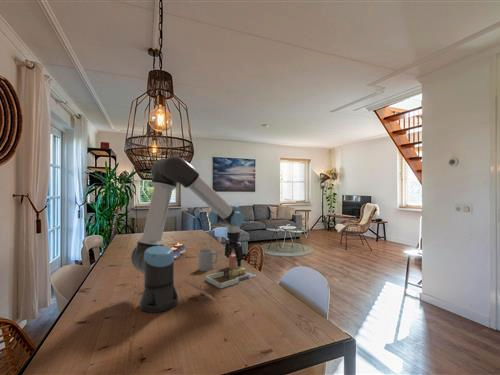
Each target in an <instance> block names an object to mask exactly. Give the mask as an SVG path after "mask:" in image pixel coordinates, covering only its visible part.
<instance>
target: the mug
mask: <svg viewBox="0 0 500 375" xmlns="http://www.w3.org/2000/svg"><path fill="white" fill-rule="evenodd" d="M214 256H215V260H214ZM218 258H219V256H218V253H217V252H216V251H213V249H209V248H208V249H207V248H206V249H200V250H199V251H198V271H199V272H207V271H212V270H213V269H214V264H216V263H217V262H218Z"/></svg>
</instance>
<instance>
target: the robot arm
mask: <svg viewBox="0 0 500 375" xmlns="http://www.w3.org/2000/svg"><path fill="white" fill-rule="evenodd" d="M151 166H152V167H151V170H150V173H151V176H152V180H151V185H152V186H153V190H152V194H151V199H150V203H149V207H148V211H147V216H146V220H145V224H144V229H143V234H142V237H141V238H139V239H138V240H137V243H136V247H134V248H133V249H132V252H131V255H130V261H131V264H132V266H133V267H134V268H135V269H136V270H137V271H140V272H141V273H143V274H144V276H143V277H144V279H143V280H144V289H143V292H142V294H141V297H140V301H139V309H140V310H141V311H142V310H143V311H142V312H144V311H145V313H149V312H150V313H152V314H153V313H162V312H166V311H168V310H171V309H173V308H174V307H176V306H177V305H178V304H179V295H178V292H177V290H176V287H175V284H174V283H175V280H174V276H175V275H174V273H175V271H174V265H175V264H174V263H175V261H174V260H175V256H174V255H175V254H174V251H173V248H171V247H169V246H165V243H164V242H163V240H162V238H163V235H164V230H165V227H166V226H165V225H166V222H167V221H166V220H167V216H168V212H169V207H170V203H171V198H172V193H173V191H174V190H176V189H177V185H178V184H179V185H181V186H183V188H185V189H189V190H190V191H191V192H192V193H193V194H194V195H196V196H197V197H198V198H199V199H200V200H201V201H202V202H203V203H205V205H207V206H208V207H209V208H210V209H211V211H209V213H208V221H209V223H210V224H211V225H218V224H221V225H226V231H227V232H226V234H227V235H226V238H227V239H225V246H224V247H225V248H224V256H225V257H226V264H227V266H226V267H227V268H229V255H232V252H233V251H234V254H235V255H236V258H237V260H236V268H239V267H241V266H242V261H244V253H243V252H244V251H243V242H239V241H240V240H239V239H240V237H241V236H240V235H241V232H240V231H241V230H240V227H241V225H243V223H244V222H245V216H244V213H243V212H241V210H240V206H239V205H230V204H229V203H228V202H227V201H226V200H224V199H223V198H222V197H221V196H220V195H219V194H218V193H217V191H216V190H214V189H213V188H212V186H210V185H209V184H208V183H207V182H206V181H205V180H204V179H203V178H202V177H201V176H200V175H201V174H200V172H199V171H198V170H197V169H196V168H195V167H194V166H193V165H192V164H190V163H189V162H188V161H187V160H186V159H184V158H182V157H179V156H170V157H167V158H161V159H158V160H157V161H155V162H154V163H153V164H152V165H151ZM238 258H239V259H238Z"/></svg>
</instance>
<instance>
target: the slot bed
mask: <svg viewBox="0 0 500 375" xmlns="http://www.w3.org/2000/svg"><path fill="white" fill-rule="evenodd" d="M257 276H258V275H257V274H254V273H252V272H250V271H247V270H246V274H243V275H240V276H236V277H233V279H237V278H239V282H240V281H243V280H247V279H250V278H254V277H257ZM224 277H225V278H227V279H229V280H232V279H230V278H229V272H226V273H225V274H224Z"/></svg>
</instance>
